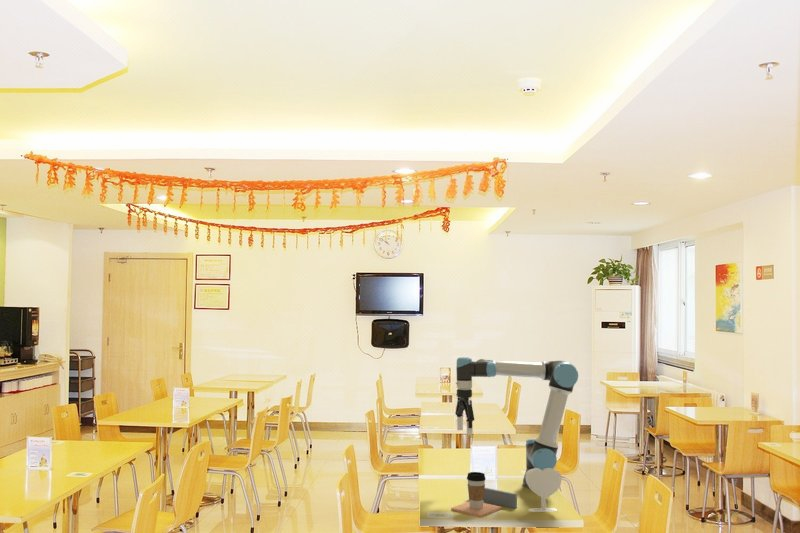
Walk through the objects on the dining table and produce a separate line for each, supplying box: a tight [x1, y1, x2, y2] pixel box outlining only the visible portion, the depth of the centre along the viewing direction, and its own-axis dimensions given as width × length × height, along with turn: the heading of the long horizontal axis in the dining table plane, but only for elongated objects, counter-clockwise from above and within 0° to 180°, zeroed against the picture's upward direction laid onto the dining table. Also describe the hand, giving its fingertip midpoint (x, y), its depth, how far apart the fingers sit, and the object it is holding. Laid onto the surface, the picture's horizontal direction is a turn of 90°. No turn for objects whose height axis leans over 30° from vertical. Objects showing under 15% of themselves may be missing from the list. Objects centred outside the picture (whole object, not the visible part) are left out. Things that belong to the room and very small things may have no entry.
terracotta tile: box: [450, 500, 502, 518], centre depth 302 cm, size 16×16×1 cm
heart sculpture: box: [524, 468, 562, 513], centre depth 303 cm, size 16×5×18 cm, turn 93°
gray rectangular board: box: [483, 487, 518, 509], centre depth 313 cm, size 2×24×6 cm, turn 50°
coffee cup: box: [466, 471, 486, 509], centre depth 303 cm, size 8×8×15 cm
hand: (464, 432), depth 335 cm, fingers open, 13 cm apart
